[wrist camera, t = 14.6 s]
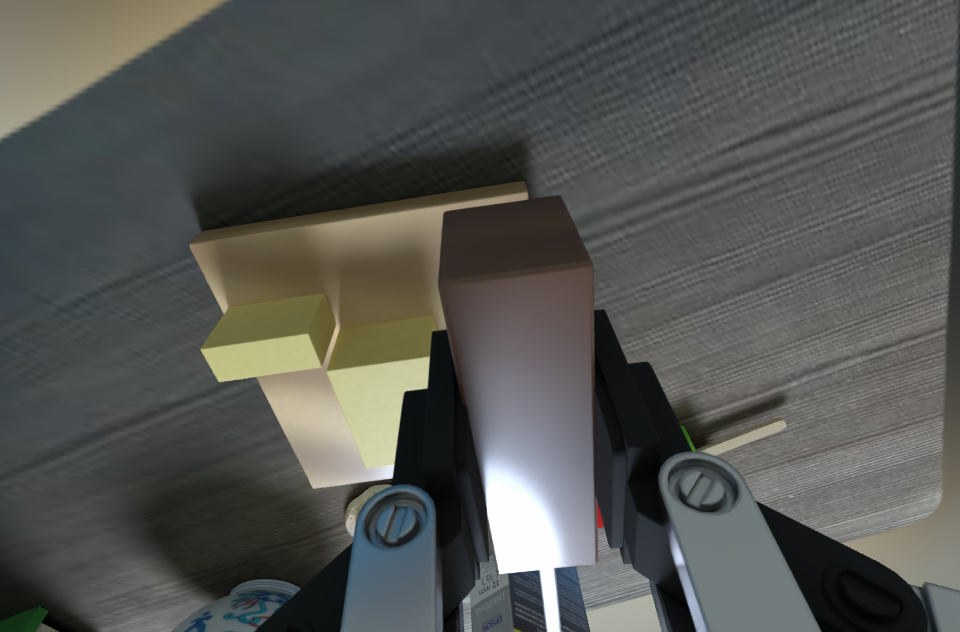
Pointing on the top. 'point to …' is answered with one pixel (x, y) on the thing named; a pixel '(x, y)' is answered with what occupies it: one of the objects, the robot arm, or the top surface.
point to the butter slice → (270, 338)
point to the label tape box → (523, 600)
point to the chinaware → (241, 608)
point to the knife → (526, 379)
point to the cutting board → (337, 298)
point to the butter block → (379, 380)
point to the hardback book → (26, 622)
